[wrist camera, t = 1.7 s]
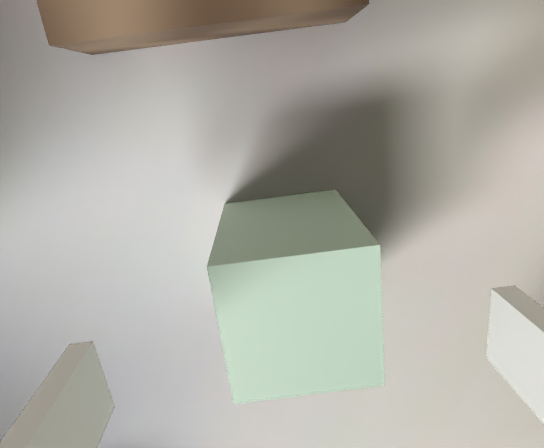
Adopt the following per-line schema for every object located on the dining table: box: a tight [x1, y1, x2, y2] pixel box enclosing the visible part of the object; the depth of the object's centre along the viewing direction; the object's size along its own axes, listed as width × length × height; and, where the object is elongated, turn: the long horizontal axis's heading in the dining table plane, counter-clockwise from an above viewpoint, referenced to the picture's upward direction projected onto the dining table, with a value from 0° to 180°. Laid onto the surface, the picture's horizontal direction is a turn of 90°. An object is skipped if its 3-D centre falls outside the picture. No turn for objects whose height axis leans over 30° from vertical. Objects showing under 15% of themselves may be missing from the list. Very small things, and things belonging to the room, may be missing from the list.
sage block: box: [207, 190, 385, 404], centre depth 18 cm, size 6×6×8 cm
